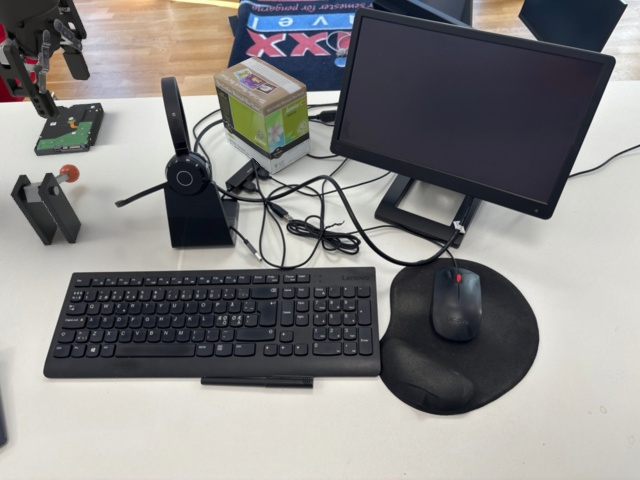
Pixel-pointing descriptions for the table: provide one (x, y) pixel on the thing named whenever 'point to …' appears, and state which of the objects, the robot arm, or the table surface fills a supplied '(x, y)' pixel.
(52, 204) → the bracket
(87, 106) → the disk drive
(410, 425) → the table surface
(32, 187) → the lever
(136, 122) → the table surface
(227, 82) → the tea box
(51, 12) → the robot arm
